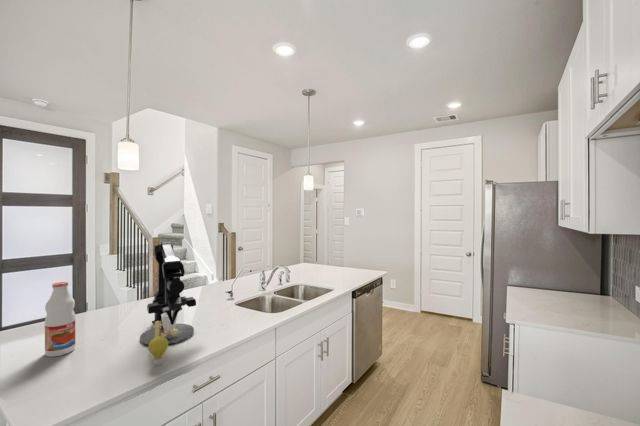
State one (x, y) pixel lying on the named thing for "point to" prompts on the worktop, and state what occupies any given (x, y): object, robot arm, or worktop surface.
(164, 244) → the robot arm
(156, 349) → the light bulb
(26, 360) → the worktop surface
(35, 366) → the worktop surface
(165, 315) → the cup
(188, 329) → the turntable
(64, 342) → the fruit juice
